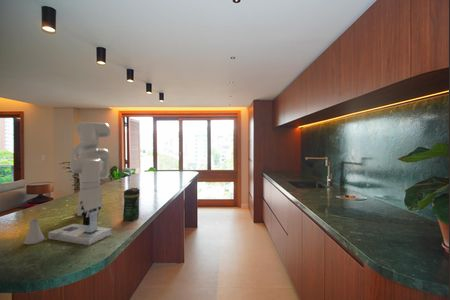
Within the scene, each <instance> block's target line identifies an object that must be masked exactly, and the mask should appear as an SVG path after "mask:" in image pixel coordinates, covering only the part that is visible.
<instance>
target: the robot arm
mask: <svg viewBox="0 0 450 300" xmlns="http://www.w3.org/2000/svg"><path fill="white" fill-rule="evenodd" d="M76 123H77V124H76V125H75V130H76V132H77V135H78V137H79V139H80V143H79V144H78V145H76V146H75V147H74V148H73V149H72V151H71V153H70V157H69V158H70V160H69V169H70V171H71V172H72V173H73V174H78V178H79V192H78V196H77V197H78V199H77V207H76V208H75V209H76V210H77V211H76V215H77V216H79V217H82V219H83V220H82V225H90V217H88V216H89V210H92V209H93V210H94V211H97V223H98V221H99V219H98V218H99V213H100V210H101V209H102V208H103V207H104V204H103V203H104V202H103V194H102V188H101V182H102V181H101V180H104V179H106V180H107V179H108V178H109V177H110V163H111V162H110V151H109V150H108V149H107V148H101V147H100V148H99V146H100V138H109V137H110V136H111V126H110V124H108V123H107V122H95V121H93V122H92V121H80V122H76ZM85 212H86V213H85Z"/></svg>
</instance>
